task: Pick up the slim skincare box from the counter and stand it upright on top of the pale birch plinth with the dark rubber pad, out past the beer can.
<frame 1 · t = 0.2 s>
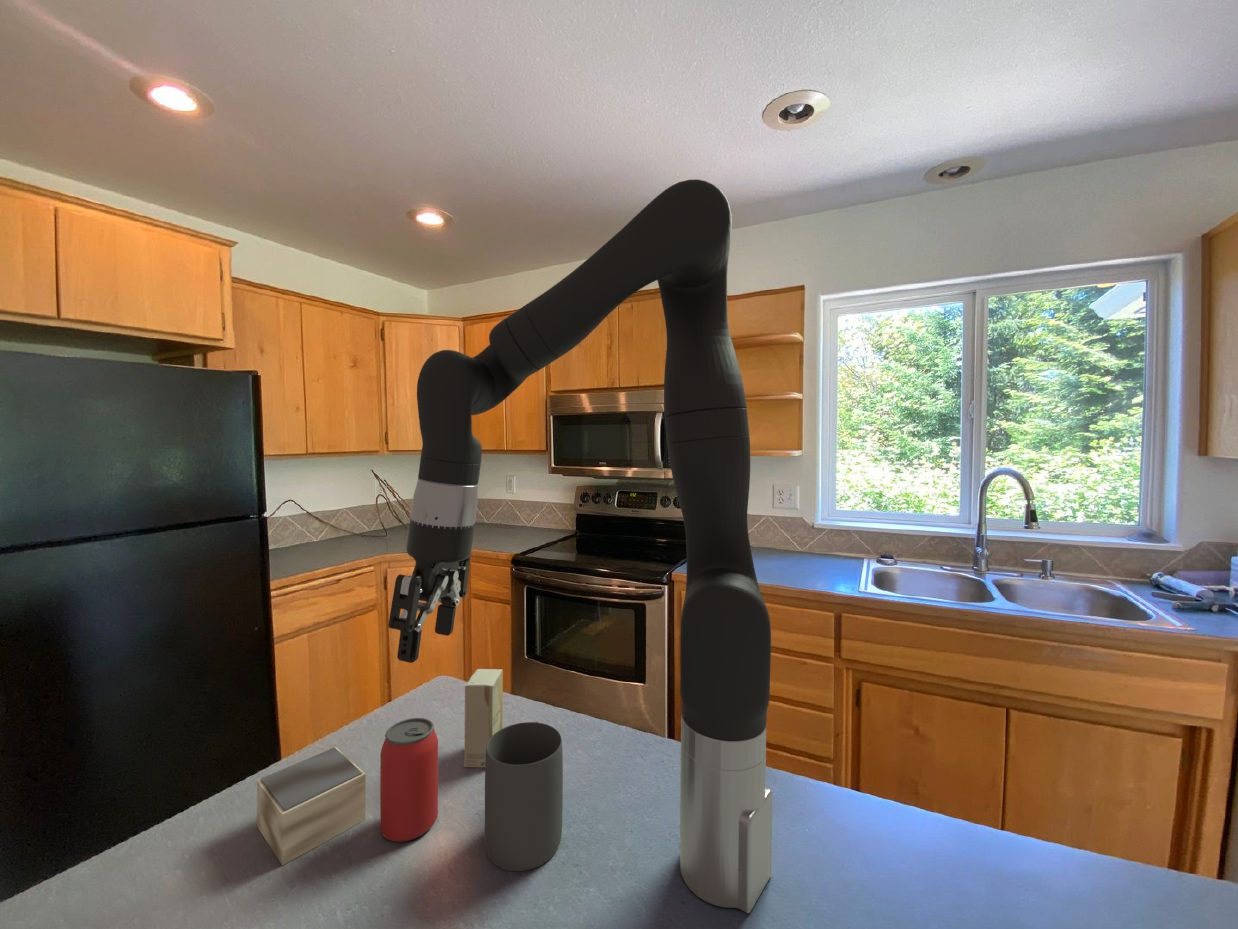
hand: (426, 646, 60), 22 cm above the countertop, tool pointing down, fingers open, 8 cm apart
skincare box: (484, 756, 75), on the countertop
beer can: (409, 826, 61), on the countertop
mug: (527, 828, 60), on the countertop
birch plinth: (311, 823, 61), on the countertop
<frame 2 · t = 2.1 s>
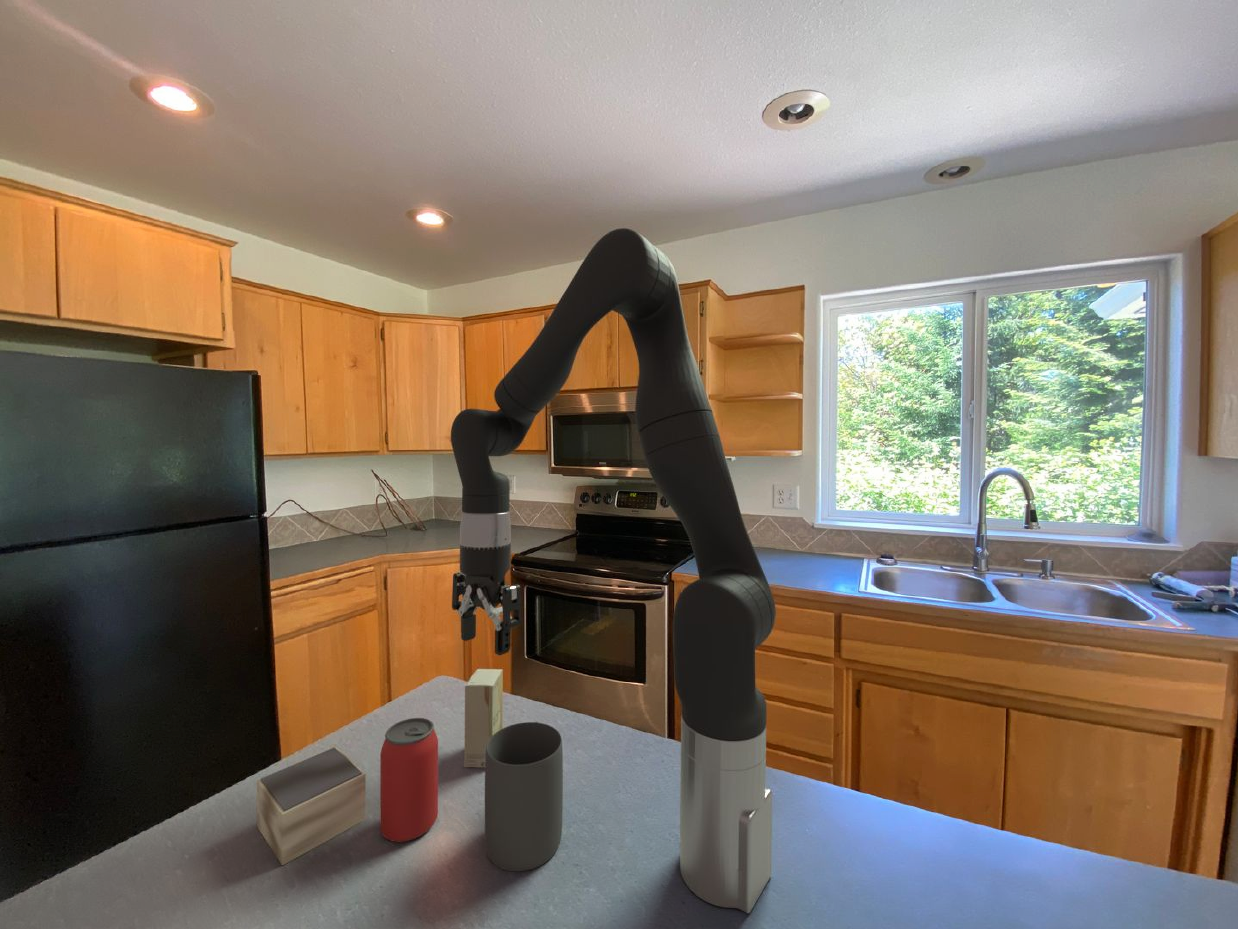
hand: (484, 646, 75), 17 cm above the countertop, tool pointing down, fingers open, 8 cm apart
nothing on the countertop moved.
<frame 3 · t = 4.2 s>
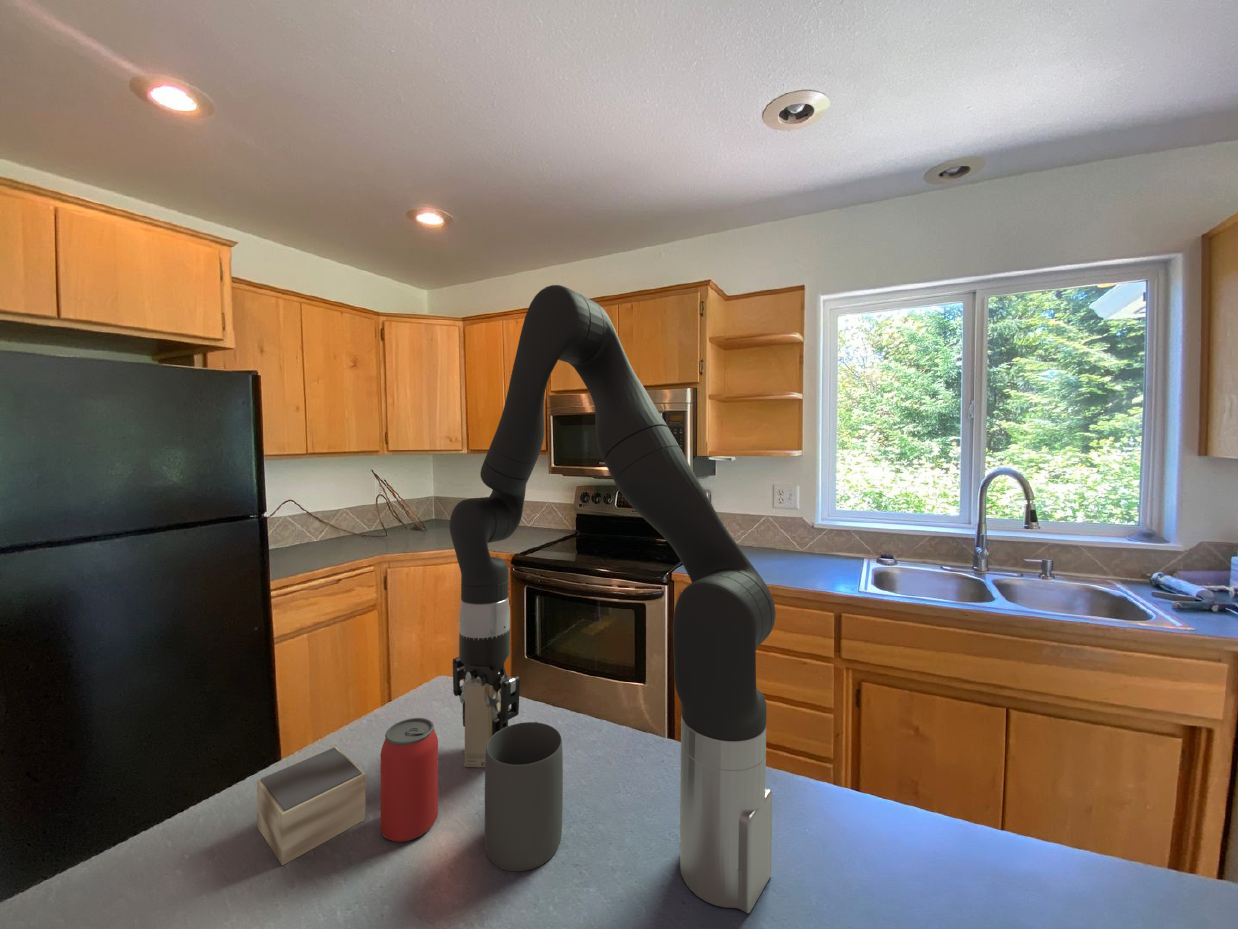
hand: (484, 733, 75), 3 cm above the countertop, tool pointing down, fingers closed on skincare box, 7 cm apart
skincare box: (484, 756, 75), on the countertop, touching gripper
everything else where it was.
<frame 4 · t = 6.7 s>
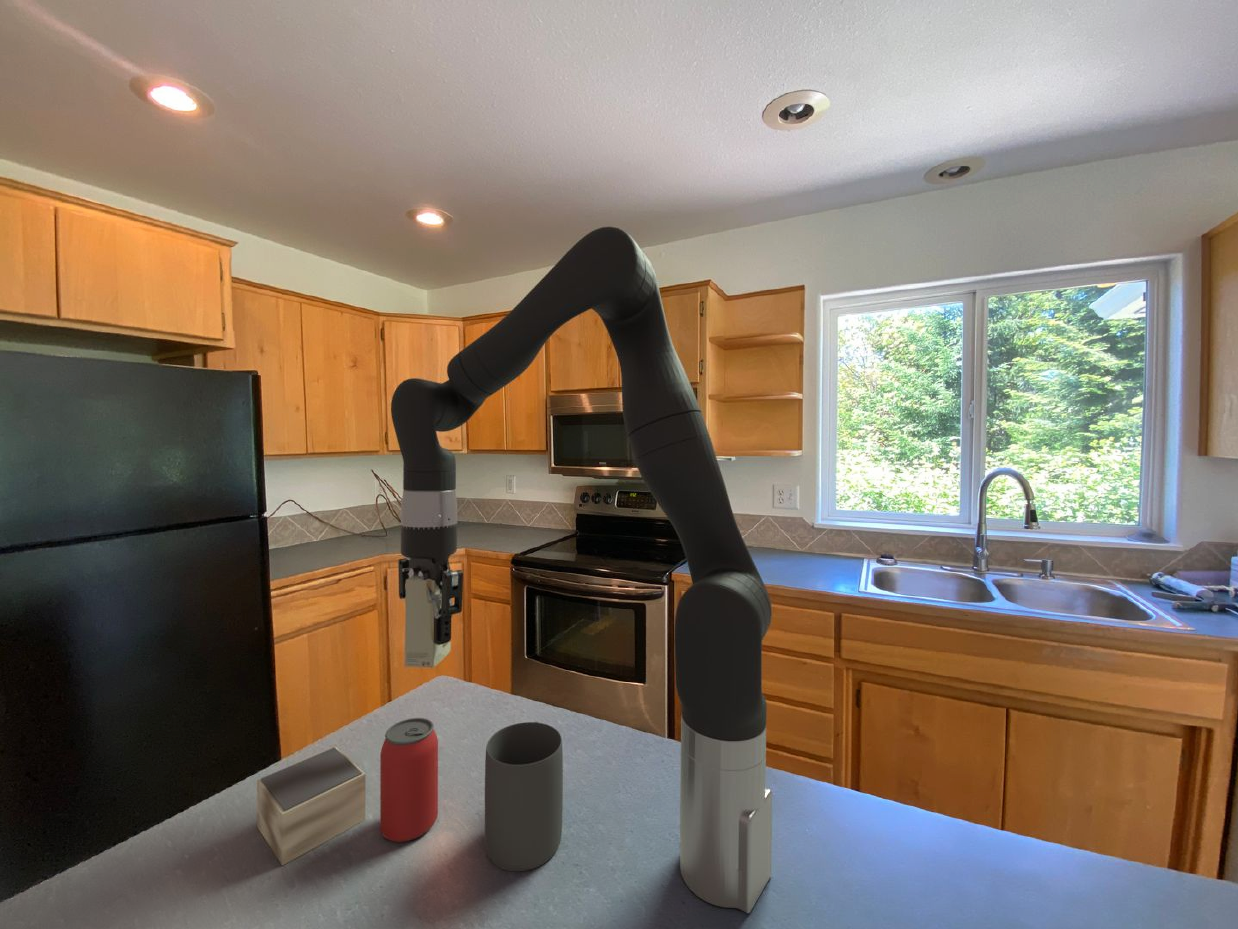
hand: (428, 636, 70), 20 cm above the countertop, tool pointing down, fingers closed on skincare box, 7 cm apart
skincare box: (428, 660, 70), point 17 cm above the countertop, touching gripper
everything else where it was.
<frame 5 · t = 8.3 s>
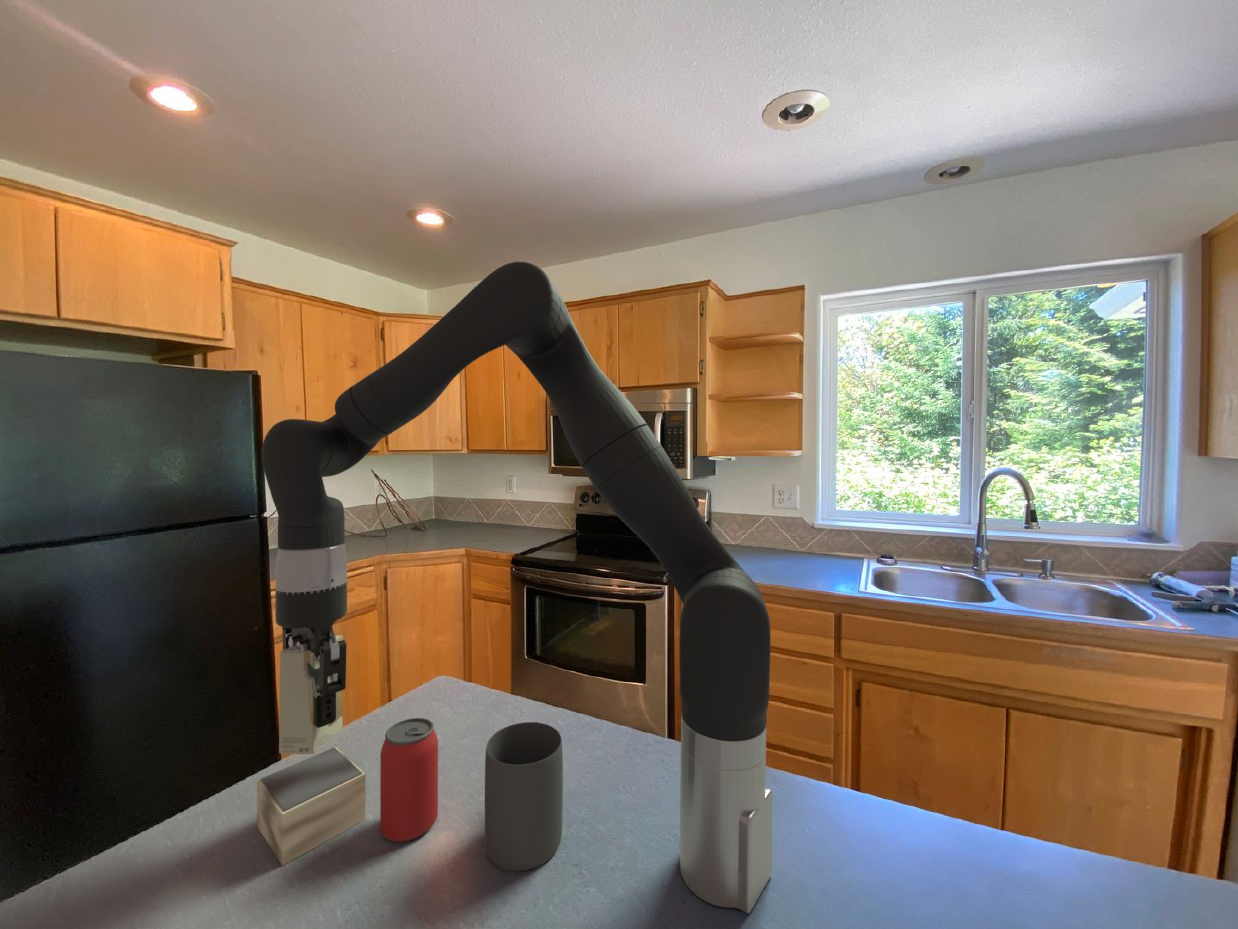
hand: (312, 713, 60), 14 cm above the countertop, tool pointing down, fingers closed on skincare box, 7 cm apart
skincare box: (313, 741, 61), point 10 cm above the countertop, touching gripper
everything else where it was.
when the fingers open (10 cm above the countertop, at t = 9.7 s): skincare box stays where it is, resting on birch plinth.
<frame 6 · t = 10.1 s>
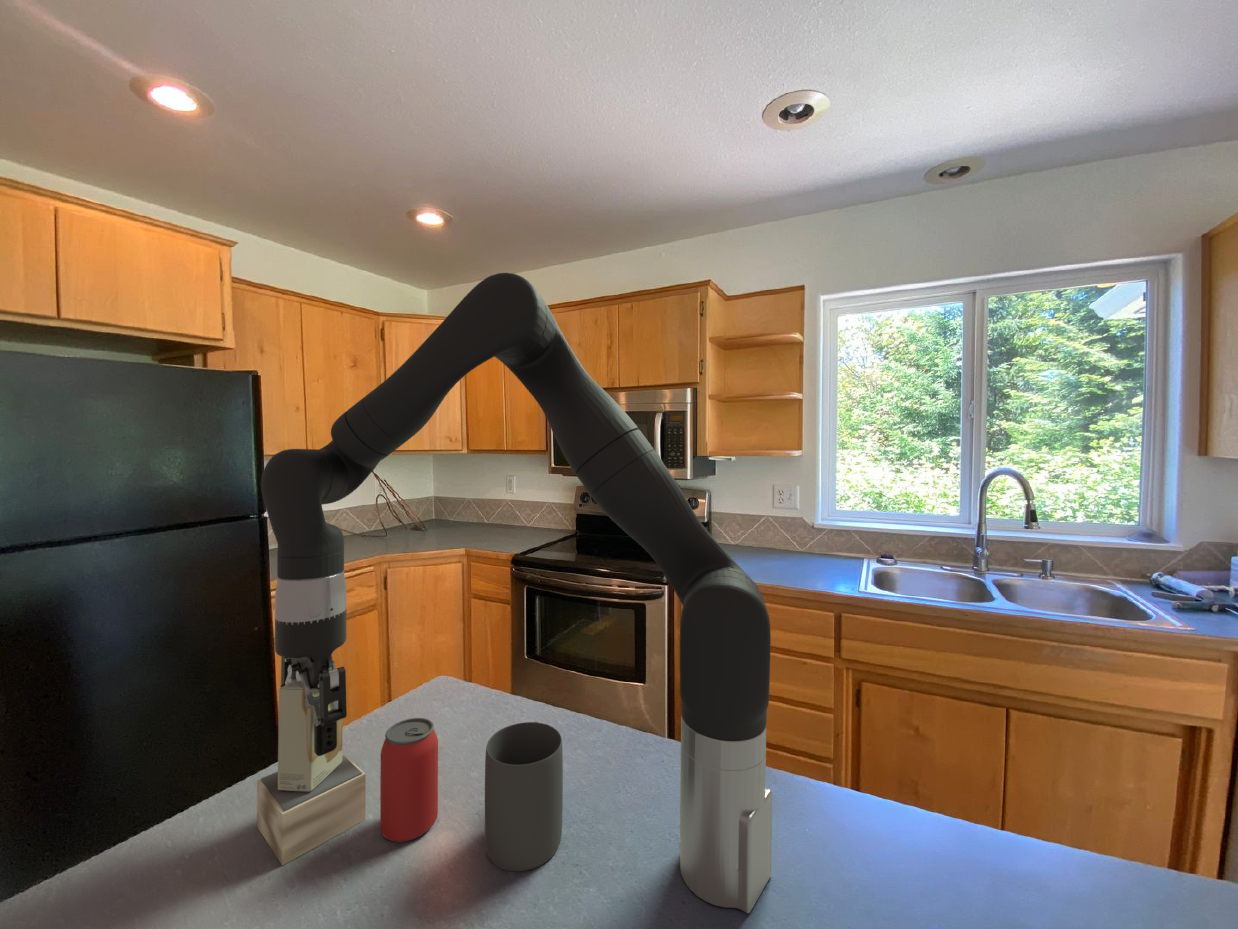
hand: (311, 739, 61), 11 cm above the countertop, tool pointing down, fingers open, 8 cm apart
skincare box: (312, 777, 61), point 6 cm above the countertop, touching birch plinth
everything else where it was.
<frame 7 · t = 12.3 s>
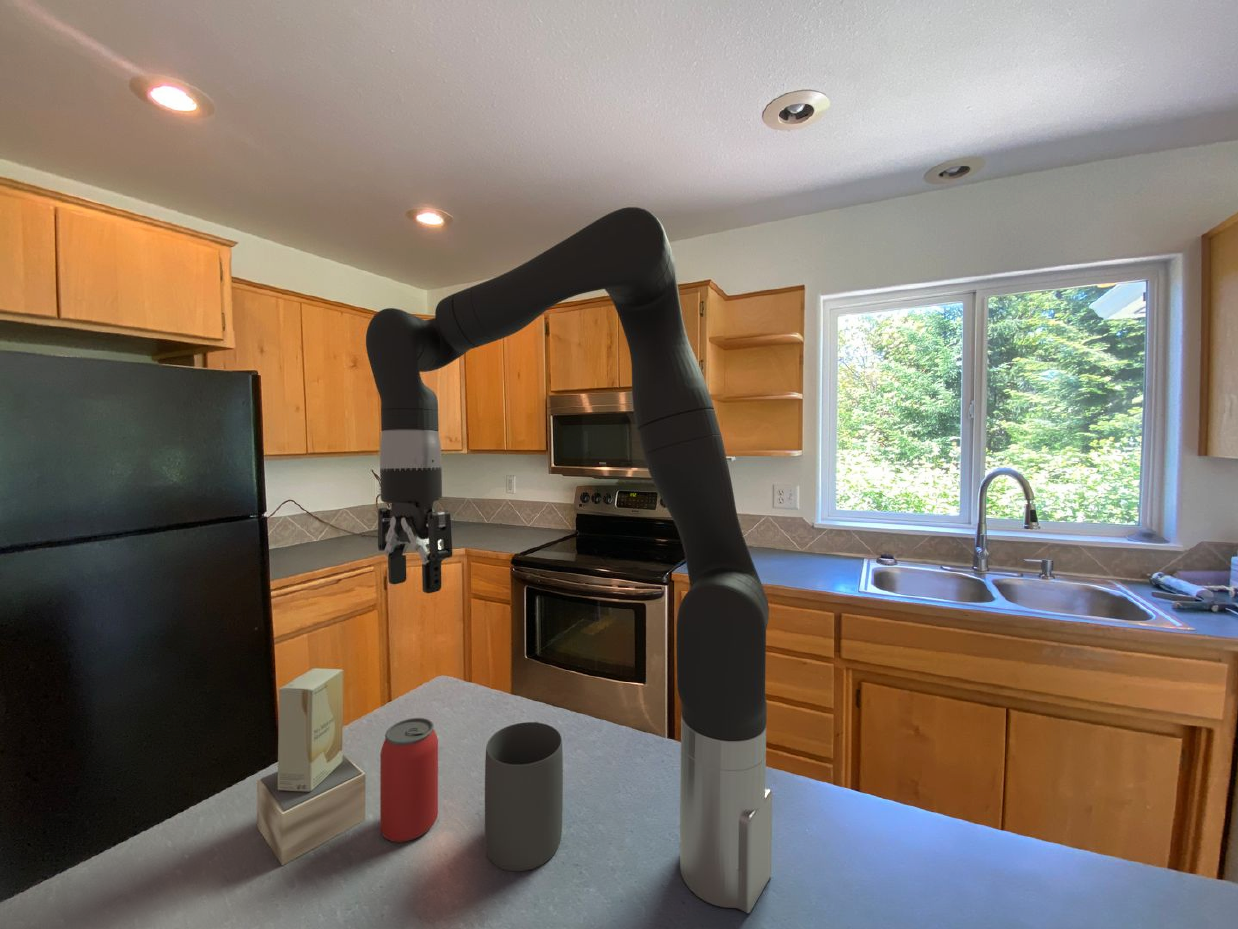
hand: (414, 587, 65), 29 cm above the countertop, tool pointing down, fingers open, 8 cm apart
nothing on the countertop moved.
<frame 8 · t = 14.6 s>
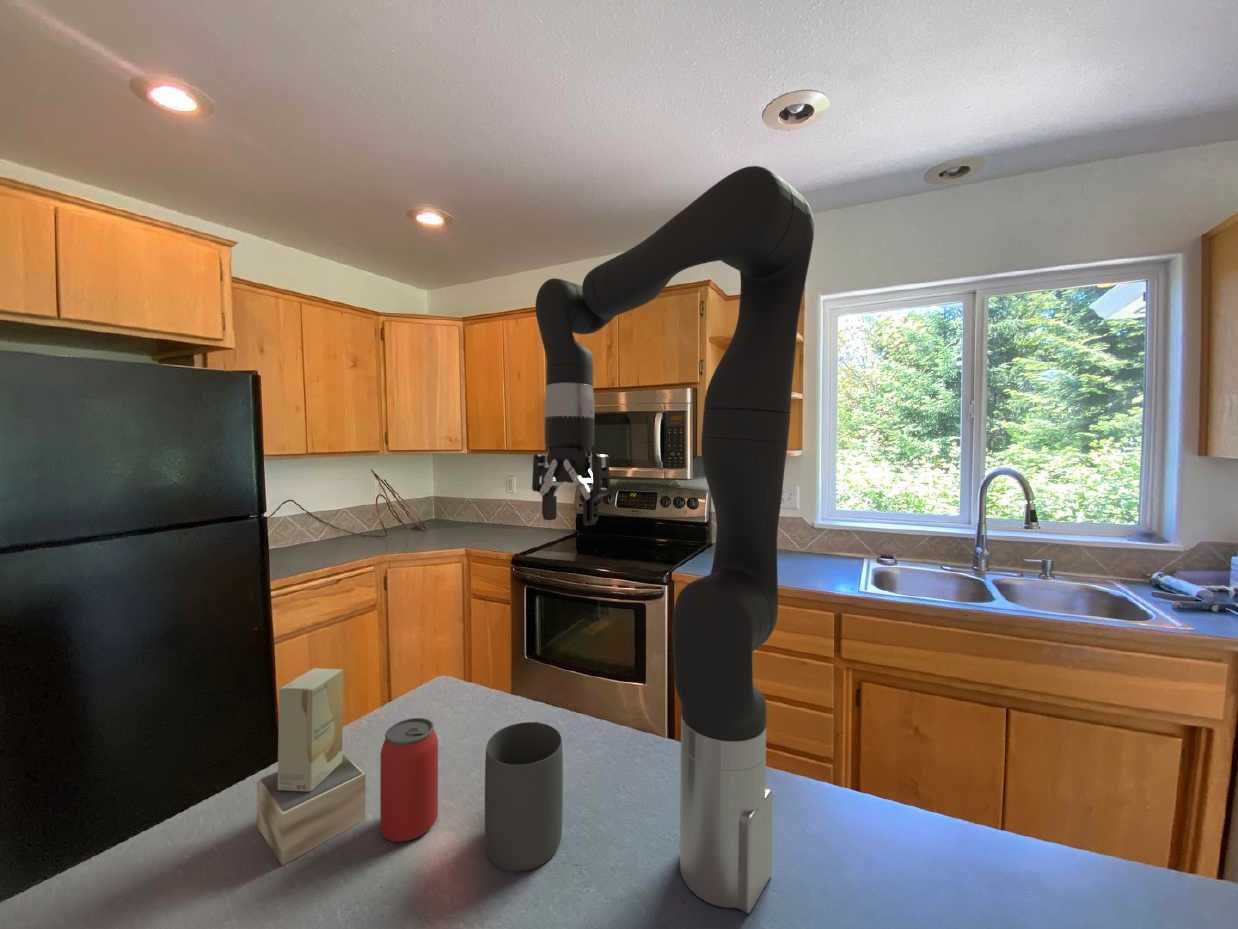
hand: (569, 522, 74), 36 cm above the countertop, tool pointing down, fingers open, 8 cm apart
nothing on the countertop moved.
at the end: skincare box 0.0 cm off-centre on the birch plinth, point 5.8 cm above the birch plinth's base; skincare box tilted 0°; the gripper is holding nothing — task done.
